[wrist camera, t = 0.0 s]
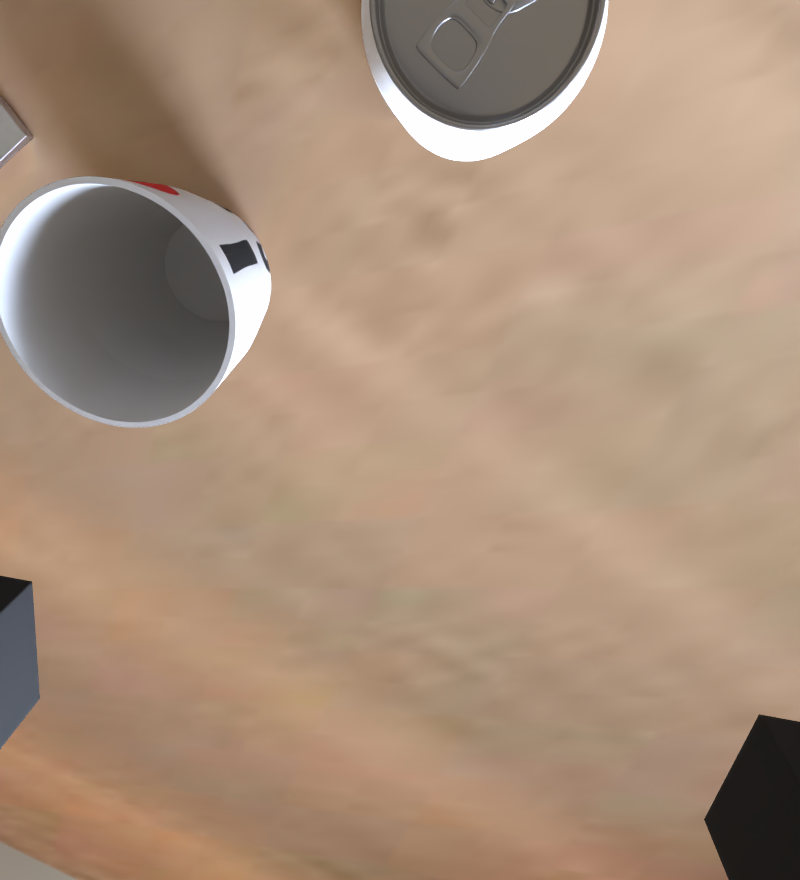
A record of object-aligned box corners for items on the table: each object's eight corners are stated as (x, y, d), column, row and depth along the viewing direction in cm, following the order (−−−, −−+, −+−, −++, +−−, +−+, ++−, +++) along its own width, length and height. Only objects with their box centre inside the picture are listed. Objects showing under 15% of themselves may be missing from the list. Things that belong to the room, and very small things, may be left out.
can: (581, 65, 26) (686, -22, 15) (472, 195, 28) (490, 204, 17) (465, -59, 24) (481, -259, 13) (358, 86, 26) (296, 19, 15)
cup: (333, 248, 29) (280, 279, 20) (248, 386, 32) (168, 469, 23) (177, 138, 28) (43, 117, 18) (103, 292, 30) (-45, 341, 21)
